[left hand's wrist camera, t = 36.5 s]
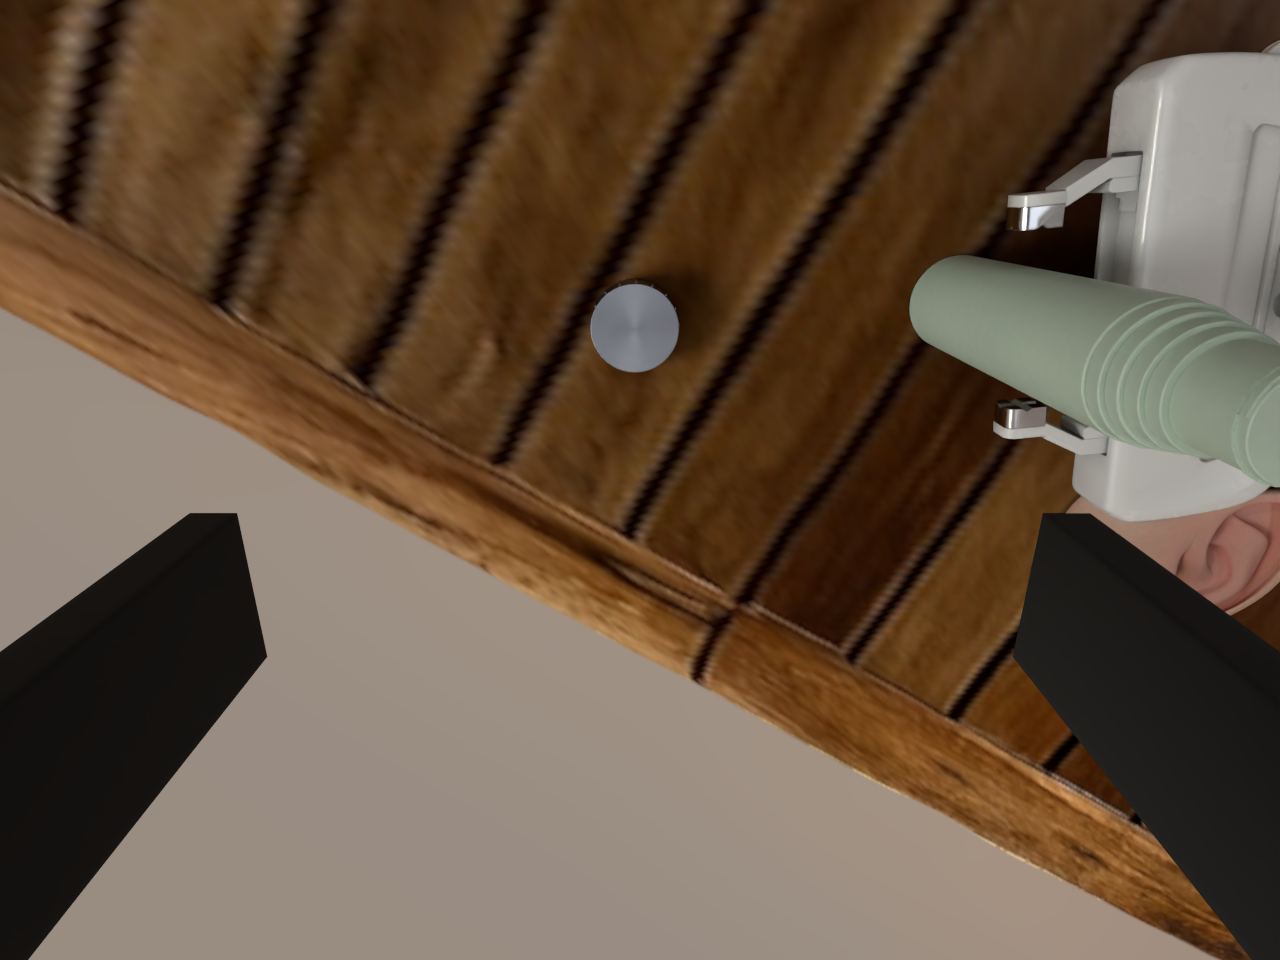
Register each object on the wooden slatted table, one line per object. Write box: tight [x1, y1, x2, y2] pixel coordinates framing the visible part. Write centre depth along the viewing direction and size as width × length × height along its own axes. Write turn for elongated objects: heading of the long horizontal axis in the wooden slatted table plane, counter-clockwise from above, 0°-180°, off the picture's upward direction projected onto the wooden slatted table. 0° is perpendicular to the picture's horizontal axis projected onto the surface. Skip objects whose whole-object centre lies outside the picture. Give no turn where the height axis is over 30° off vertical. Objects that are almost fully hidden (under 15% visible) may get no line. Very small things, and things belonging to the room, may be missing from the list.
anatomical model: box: [1066, 490, 1280, 615], centre depth 44 cm, size 13×4×12 cm
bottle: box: [910, 255, 1280, 487], centre depth 30 cm, size 5×5×23 cm
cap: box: [590, 278, 680, 373], centre depth 40 cm, size 5×5×2 cm
